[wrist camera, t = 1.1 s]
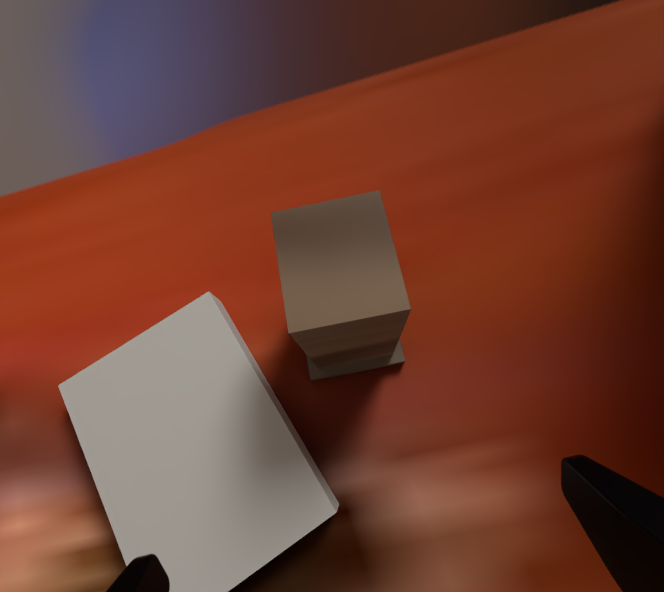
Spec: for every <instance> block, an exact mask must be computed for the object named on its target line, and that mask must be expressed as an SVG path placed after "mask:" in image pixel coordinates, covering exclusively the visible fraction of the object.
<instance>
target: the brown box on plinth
mask: <svg viewBox="0 0 664 592" xmlns="http://www.w3.org/2000/svg"><path fill="white" fill-rule="evenodd" d="M271 218H272V225H273V231H274V238H275V245H276V252H277V259H278V265H279V272H280V279H281V286H282V293H283V300H284V306H285V313H286V320H287V327H288V333H289V335H290V336H291V337H292V338H293V339H294V341H295V342H296V343H297V344H298V345H299V346H300V348H301V349H302V350H303V351H304V352H305V353H306V357H307V363H308V370H309V376H310V380H311V381H316V380H321V379H326V378H331V377H336V376H341V375H346V374H351V373H356V372H362V371H367V370H372V369H377V368H382V367H387V366H392V365H397V364H402V363H404V362H405V358H404V354H403V350H402V346H401V342H400V336H401V333H402V331H403V328H404V325H405V323H406V320H407V318H408V315H409V313H410V310H411V307H410V304H409V300H408V296H407V292H406V288H405V285H404V281H403V277H402V273H401V269H400V266H399V262H398V258H397V254H396V251H395V247H394V243H393V239H392V235H391V232H390V228H389V224H388V220H387V217H386V213H385V209H384V205H383V201H382V198H381V194H380V190H379V191H374V192H369V193H364V194H359V195H354V196H350V197H345V198H340V199H335V200H330V201H325V202H320V203H316V204H311V205H306V206H301V207H296V208H291V209H286V210H281V211H277V212H272V213H271Z"/></svg>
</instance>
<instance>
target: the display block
mask: <svg viewBox="0 0 664 592" xmlns="http://www.w3.org/2000/svg"><path fill="white" fill-rule="evenodd" d="M58 386H59V389H60V392H61V394H62V397H63V400H64V402H65V405H66V408H67V410H68V413H69V416H70V418H71V421H72V423H73V426H74V429H75V431H76V434H77V437H78V439H79V442H80V445H81V447H82V450H83V453H84V455H85V458H86V460H87V463H88V466H89V468H90V471H91V474H92V476H93V479H94V482H95V484H96V487H97V490H98V492H99V495H100V498H101V500H102V503H103V505H104V508H105V511H106V513H107V516H108V519H109V521H110V524H111V527H112V529H113V532H114V535H115V537H116V540H117V542H118V545H119V548H120V550H121V553H122V556H123V558H124V561H125V564H126V566H128V564H129V563H130V562H131V561H132V560H133V559H134V558H136V557H139V556H143V555H147V554H155V555H156V556H157V557H158V559H159V561H160V563H161V564H162V566H163V568H164V570H165V571H166V573H167V575H168V577H169V582H170V590H169V592H228V591H230V590H231V589H232V588H234V587H235V586H236V585H238V584H239V583H241V582H242V581H243V580H245V579H246V578H247V577H249V576H250V575H251V574H253V573H254V572H256V571H257V570H258V569H260V568H261V567H262V566H264V565H265V564H267V563H268V562H269V561H271V560H272V559H273V558H275V557H276V556H278V555H279V554H280V553H282V552H283V551H284V550H286V549H287V548H288V547H290V546H291V545H293V544H294V543H295V542H297V541H298V540H299V539H301V538H302V537H304V536H305V535H306V534H308V533H309V532H310V531H312V530H313V529H315V528H316V527H317V526H319V525H320V524H321V523H323V522H324V521H326V520H327V519H328V518H330V517H331V516H332V515H334V514H335V513H336V512H337V510H338V507H339V503H338V501H337V500H336V498H335V496H334V494H333V493H332V491H331V489H330V488H329V486H328V484H327V482H326V481H325V479H324V477H323V476H322V474H321V472H320V470H319V469H318V467H317V465H316V464H315V462H314V460H313V458H312V457H311V455H310V453H309V452H308V450H307V448H306V446H305V445H304V443H303V441H302V440H301V438H300V436H299V434H298V433H297V431H296V429H295V428H294V426H293V424H292V423H291V421H290V419H289V417H288V416H287V414H286V412H285V411H284V409H283V407H282V405H281V404H280V402H279V400H278V399H277V397H276V395H275V393H274V392H273V390H272V388H271V387H270V385H269V383H268V381H267V380H266V378H265V376H264V375H263V373H262V371H261V369H260V368H259V366H258V364H257V363H256V361H255V359H254V357H253V356H252V354H251V352H250V351H249V349H248V347H247V345H246V344H245V342H244V340H243V339H242V337H241V335H240V333H239V332H238V330H237V328H236V327H235V325H234V323H233V321H232V320H231V318H230V316H229V315H228V313H227V311H226V309H225V308H224V306H223V304H222V303H221V301H220V300H218V299H217V298H216V297H215V296H214V295H213V294H211V293H210V292H207V293H206V294H204V295H202V296H201V297H199V298H198V299H196V300H194V301H193V302H191V303H190V304H188V305H186V306H185V307H183V308H182V309H180V310H178V311H177V312H175V313H174V314H172V315H170V316H169V317H167V318H166V319H164V320H162V321H161V322H159V323H158V324H156V325H154V326H153V327H151V328H149V329H148V330H146V331H145V332H143V333H141V334H140V335H138V336H137V337H135V338H133V339H132V340H130V341H129V342H127V343H125V344H124V345H122V346H121V347H119V348H117V349H116V350H114V351H113V352H111V353H109V354H108V355H106V356H105V357H103V358H101V359H100V360H98V361H97V362H95V363H93V364H92V365H90V366H89V367H87V368H85V369H84V370H82V371H81V372H79V373H77V374H76V375H74V376H73V377H71V378H69V379H68V380H66V381H65V382H63V383H61V384H60V385H58Z"/></svg>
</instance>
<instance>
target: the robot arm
mask: <svg viewBox="0 0 664 592" xmlns="http://www.w3.org/2000/svg"><path fill="white" fill-rule="evenodd" d="M561 487H562V491H563V494H564V496H565V498H566V500H567V502H568V503H569V505H570V507H571V508H572V510H573V512H574V513H575V515H576V517H577V518H578V520H579V522H580V524H581V525H582V527H583V529H584V530H585V532H586V534H587V535H588V537H589V539H590V540H591V542H592V544H593V546H594V547H595V549H596V551H597V552H598V554H599V556H600V557H601V559H602V561H603V562H604V564H605V566H606V567H607V569H608V570H609V572H610V574H611V575H612V577H613V578H614V580H615V581H616V583H617V584H618V585H619V587H620V588H621V590H622V591H623V592H664V498H663V497H661V496H659V495H657V494H655V493H653V492H652V491H650V490H648V489H646V488H644V487H642V486H640V485H639V484H637V483H635V482H633V481H631V480H629V479H627V478H625V477H624V476H622V475H620V474H618V473H616V472H614V471H612V470H610V469H609V468H607V467H605V466H603V465H601V464H599V463H597V462H596V461H594V460H592V459H590V458H588V457H586V456H583V455H575V456H570V457H566V458H563V460H562V461H561ZM169 590H170V582H169V577H168V575H167V573H166V571H165V570H164V568H163V566H162V564H161V563H160V561H159V559H158V557H157V556H156V555H155V554H147V555H143V556H139V557H136V558H134V559H133V560H132V561H131V562H130V563H129V564H128V566H127V567H126V568H125V569H124V570H123V572H122V573H121V574H120V575H119V576H118V578H117V579H116V580H115V581H114V582H113V584H112V585H111V586H110V587H109V588H108V590H107V591H106V592H169Z"/></svg>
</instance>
